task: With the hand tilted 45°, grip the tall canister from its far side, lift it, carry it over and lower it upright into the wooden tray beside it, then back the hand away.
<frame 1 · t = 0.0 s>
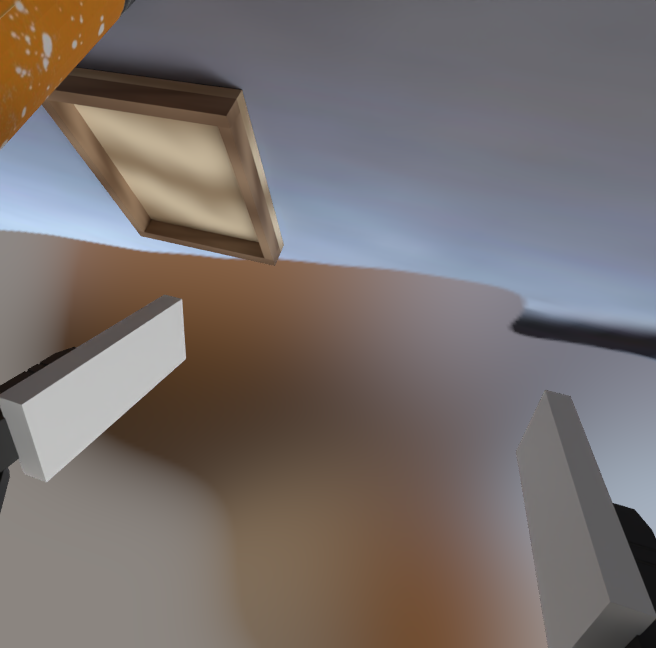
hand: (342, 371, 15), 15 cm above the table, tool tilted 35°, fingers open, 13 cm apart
wooden tray: (185, 169, 31), on the table
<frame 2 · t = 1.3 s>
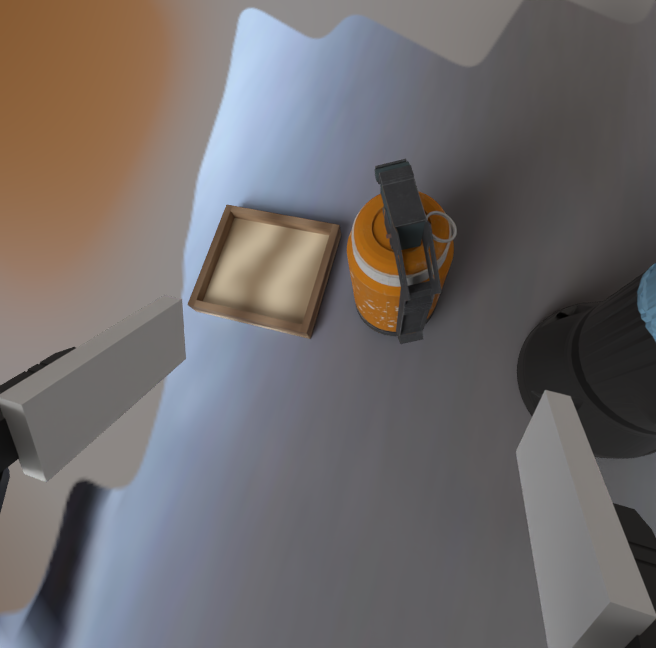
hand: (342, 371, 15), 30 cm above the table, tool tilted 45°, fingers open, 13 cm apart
canister: (397, 309, 46), on the table
wooden tray: (269, 272, 50), on the table
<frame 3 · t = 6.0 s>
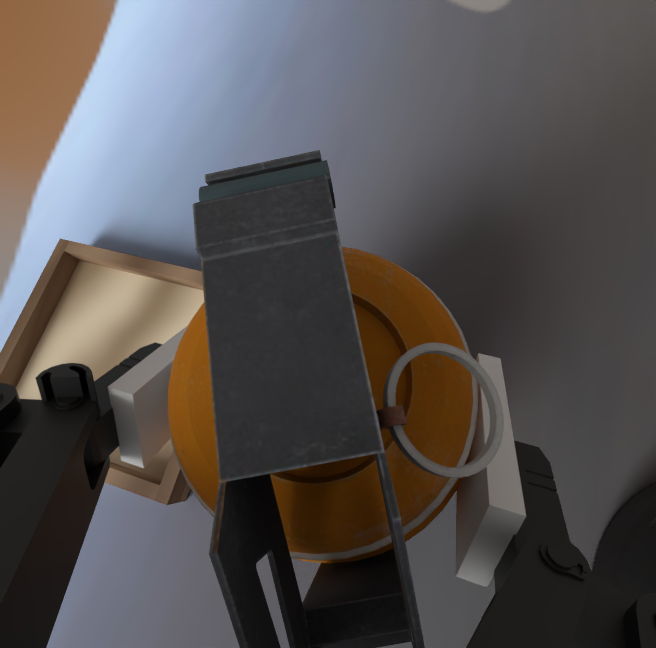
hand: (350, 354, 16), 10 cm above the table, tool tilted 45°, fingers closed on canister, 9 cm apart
canister: (351, 445, 24), on the table, touching gripper
wooden tray: (128, 362, 28), on the table
when the fingers open (12 cm above the table, at t = 12.4 s): canister drops 1 cm, resting on wooden tray.
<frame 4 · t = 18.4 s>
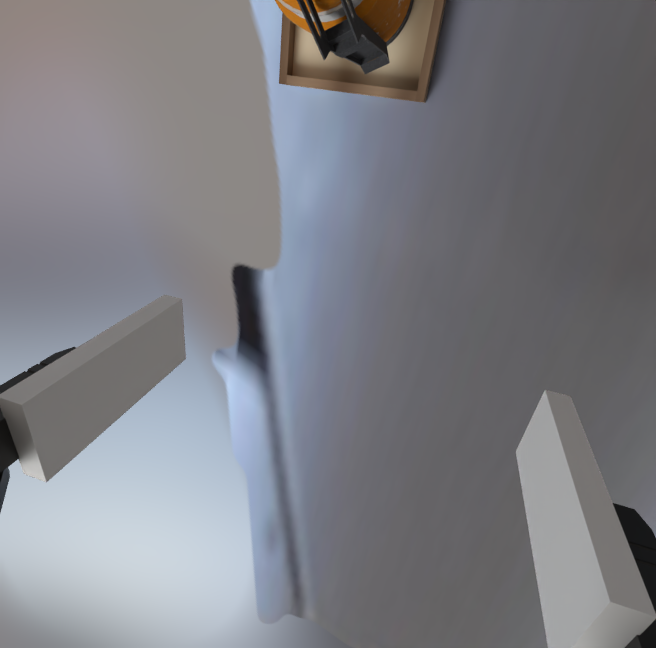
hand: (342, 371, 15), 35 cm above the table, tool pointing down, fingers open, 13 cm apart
canister: (369, 11, 38), point 1 cm above the table, touching wooden tray
wooden tray: (364, 11, 38), on the table
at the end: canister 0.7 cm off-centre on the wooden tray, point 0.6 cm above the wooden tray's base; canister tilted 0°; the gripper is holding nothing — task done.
